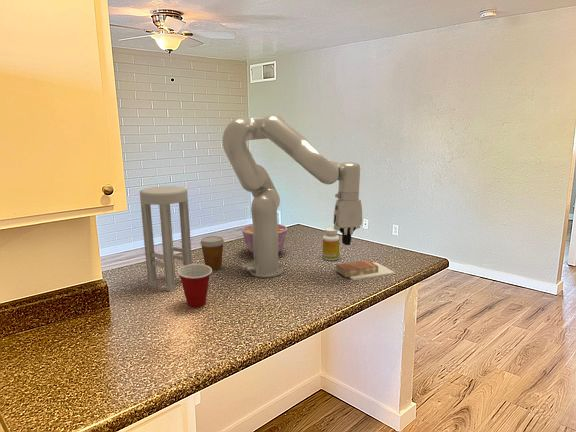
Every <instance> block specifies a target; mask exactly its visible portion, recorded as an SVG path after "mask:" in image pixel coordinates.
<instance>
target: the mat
mask: <svg viewBox="0 0 576 432" xmlns="http://www.w3.org/2000/svg"><path fill="white" fill-rule="evenodd" d="M372 263H374V264H375V265H377V266H378V272H377V273H371V274H364V275H358V276H352V277H348V278H349V279H350V280H352V281H358V280H359V281H360V280H364V279H371V278H377V277H378V278H379V277H383V276H389V275H395V273H396V272H395V271H393V270H391V269H390V268H388V267H386V266H384V265H382V264H380V263H378V262H377V261H374V262H372Z"/></svg>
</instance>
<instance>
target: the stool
mask: <svg viewBox="0 0 576 432" xmlns="http://www.w3.org/2000/svg"><path fill="white" fill-rule="evenodd" d="M139 198H140V201H139V202H140V210H141V211H140V212H141V221H142V231H143V233H142V234H143V242H144V243H143V245H144V255H145V266H146V277H147V278H146V279H147V286H148V287H151V288H152V287H156V286H157V285H158V279H157V278H158V276H157V268H156V267H160V268H163V269H164V281H165V290H166V291H167V292H172V291H175V290H176V283H175V282H176V281H175V280H176V279H175V277H176V268H175V267H176V266H175V259H176V260H180V261H182V267H183V266H185V265H190V264H193V258H192V257H193V256H192V243H191V242H192V241H191V227H190V225H191V224H190V215H189V213H190V212H189V211H190V210H189V199H188V198H189V197H188V188H186V187H184V186H175V185H173V186H172V185H169V186H168V185H164V186H163V185H162V186H151V187H148V188H144V189H141V190H140V191H139ZM172 204H173V205H174V204H178V207H179V208H178V210H179V211H178V212H179V224H180V237H181V247H178V246H174V242H173V241H174V239H173V228H172V227H173V226H172V214H171V205H172ZM152 205H158V207H159V209H158V210H159V216H160V217H159V219H160V231H161V233H160V234H161V242H162V243H161V244H162V254H161V253H156V252H155V244H154V243H155V242H154V241H155V240H154V233H153V230H154V229H153V220H152V218H153V217H152V208H151V206H152ZM174 252H178V253H182V255H178V254H174ZM156 258H157V259H161V260H163V262H161V261H156Z"/></svg>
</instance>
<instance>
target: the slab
mask: <svg viewBox="0 0 576 432" xmlns="http://www.w3.org/2000/svg"><path fill="white" fill-rule="evenodd" d="M335 271H336V272H337V273H339V274H340V275H342V276H344V277H345V278H349V277H352V276H358V275H364V274H371V273H377V272H378V266H377V265H375V264H374V263H373V262H372V261H370V260H368V259H366V260H365V259H364V260H358V261H353V262H352V261H351V262H345V263H344V262H343V263H338V264H337V263H336V265H335Z"/></svg>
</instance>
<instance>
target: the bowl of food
mask: <svg viewBox="0 0 576 432" xmlns="http://www.w3.org/2000/svg"><path fill="white" fill-rule="evenodd" d="M287 230H288V227H287V226H286V225H284V224H279V223H278V253H279V252H280V251H281V250H282V249H283V248H284V243H285V240H286V236H287ZM241 232H242V236H243V239H244V243H245V245H246V248H247V249H248V251H249V252H251V253H253V254H254V246H253V223H252V224H248V225H245V226H244V227H242V228H241Z"/></svg>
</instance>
